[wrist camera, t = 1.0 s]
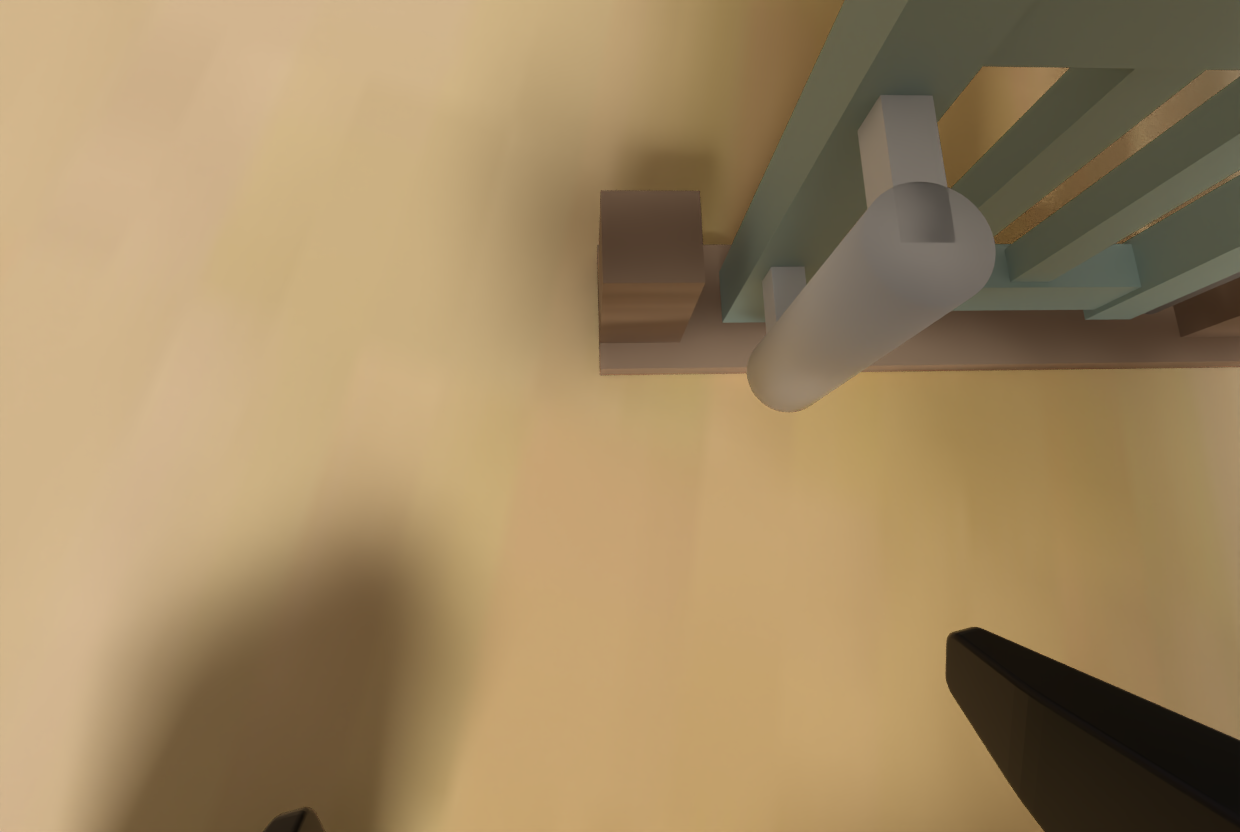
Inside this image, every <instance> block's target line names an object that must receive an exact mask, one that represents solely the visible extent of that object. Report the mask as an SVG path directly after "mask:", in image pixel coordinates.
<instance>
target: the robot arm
mask: <svg viewBox="0 0 1240 832" xmlns="http://www.w3.org/2000/svg"><path fill="white" fill-rule="evenodd" d="M946 681H947V684H948V687H949V689H950V692H951V693H952V695H953V697H954V698H955V700H956V701H957V703H958V705H959V706H960V708H961V709H962V711H963V712H964V714H965V715H966V717H967V719H968V720H969V722H970V723H971V725H972V726H973V728H974V729H975V731H976V733H977V734H978V736H979V737H980V739H981V740H982V742H983V744H984V745H985V747H986V748H987V750H988V751H989V753H990V754H991V756H992V758H993V759H994V761H995V762H996V764H997V765H998V767H999V768H1000V770H1001V772H1002V773H1003V775H1004V776H1005V778H1006V779H1007V781H1008V782H1009V784H1010V785H1011V787H1012V788H1013V790H1014V791H1015V793H1016V794H1017V796H1018V797H1019V798H1020V800H1021V801H1022V803H1023V804H1024V805H1025V807H1026V808H1027V809H1028V811H1029V812H1030V813H1031V815H1032V816H1033V817H1034V819H1035V820H1036V821H1037V822H1038V824H1039V825H1040V826H1041V828H1042V829H1043V830H1044V831H1045V832H1240V740H1238V739H1236V738H1233V737H1231V736H1229V735H1226V734H1224V733H1222V732H1220V731H1217V730H1215V729H1213V728H1210V727H1208V726H1206V725H1203V724H1201V723H1199V722H1196V721H1194V720H1192V719H1190V718H1187V717H1185V716H1183V715H1180V714H1178V713H1176V712H1173V711H1171V710H1169V709H1166V708H1164V707H1162V706H1160V705H1157V704H1155V703H1153V702H1150V701H1148V700H1146V699H1143V698H1141V697H1139V696H1136V695H1134V694H1132V693H1130V692H1127V691H1125V690H1123V689H1120V688H1118V687H1116V686H1113V685H1111V684H1109V683H1106V682H1104V681H1102V680H1100V679H1097V678H1095V677H1093V676H1090V675H1088V674H1086V673H1083V672H1081V671H1079V670H1076V669H1074V668H1072V667H1070V666H1067V665H1065V664H1063V663H1060V662H1058V661H1056V660H1053V659H1051V658H1049V657H1046V656H1044V655H1042V654H1040V653H1037V652H1035V651H1033V650H1030V649H1028V648H1026V647H1023V646H1021V645H1019V644H1017V643H1014V642H1012V641H1010V640H1007V639H1005V638H1003V637H1000V636H998V635H996V634H993V633H991V632H989V631H987V630H984V629H981V628H978V627H970V628H966V629H963V630H959V631H955V632H952V633H950V634H949V636H948V637H947V642H946ZM263 832H325V830H324V828H323V826H322V824H321V822H320V820H319V818H318V816H317V814H316V812H315V811H314V810H313V809H312V808H310V807H304V808H300V809H297V810H293V811H289V812H285V813H282V814H280V815H278V816H277V817H275V818H274V819H273V820H272V821H271V822H270V823H269V825H268V826H267V827H266V828H265V830H264V831H263Z"/></svg>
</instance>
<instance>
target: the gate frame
mask: <svg viewBox="0 0 1240 832" xmlns="http://www.w3.org/2000/svg"><path fill="white" fill-rule="evenodd" d="M730 247H731V245H703V236H702V220H701V204H700V191H601V198H600V228H599V245H598V248H597V264H598V310H599V357H600V375H649V374H728V373H747V364H748V360H749V358H750V355H751V354H752V352H753V350H754V349H755V348H756V347H757V345H758V344H759V343H760V342H761V341H762V339H763V338H764V337H765V336H766V322H743V323H722V309H721V294H720V279H719V271H720V269H721V267H722V265H723V263H724V260H725V258H726V256H727V254H728V252H729V250H730ZM1202 367H1240V277H1239V278H1237V279H1234V280H1232V281H1230V282H1227V283H1225V284H1223V285H1220V286H1218V287H1215V288H1213V289H1211V290H1208V291H1206V292H1204V293H1201V294H1199V295H1197V296H1194V297H1192V298H1190V299H1187V300H1185V301H1183V302H1180V303H1178V304H1176V305H1173V306H1171V307H1169V308H1166V309H1164V310H1162V311H1159V312H1157V313H1154V314H1141V315H1139V316H1137V317H1134V318H1132V319H1114V320H1085V317H1084V313H1083V310H980V311H950V312H949V313H948V314H946V315H945V316H943V317H942V318H940V319H939V320H937V321H936V322H934V323H933V324H931V325H930V326H928V327H927V328H925V329H924V330H922V331H921V332H919V333H918V334H916V335H915V336H913V337H912V338H910V339H909V340H907V341H906V342H904V343H903V344H901V345H900V346H898V347H897V348H895V349H894V350H892V351H891V352H889V353H888V354H887V355H885V356H884V357H882V358H881V359H879V360H878V361H876V362H875V363H873V364H872V365H870V366H869V367H867V368H866V369H864V370H863V371H861V372H886V371H965V370H1044V369H1123V368H1202Z"/></svg>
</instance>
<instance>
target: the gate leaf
mask: <svg viewBox="0 0 1240 832" xmlns="http://www.w3.org/2000/svg"><path fill="white" fill-rule="evenodd" d="M982 66H998V67H1063V68H1069V69H1068V70H1067V71H1066V72H1065V73H1064V74H1063V75H1062V76H1061V77H1060V78H1059V79H1058V81H1057V82H1056V83H1055V84H1054V85H1053V86H1052V87H1051V88H1050V89H1049V90H1048V91H1047V92H1046V93H1045V94H1044V95H1043V96H1042V97H1041V98H1040V99H1039V100H1038V101H1037V102H1036V103H1035V104H1034V105H1033V106H1032V107H1031V108H1030V109H1029V110H1028V111H1027V112H1026V113H1025V114H1024V115H1023V116H1022V117H1021V118H1020V119H1019V120H1018V121H1017V122H1016V123H1015V124H1014V125H1013V126H1012V127H1011V128H1010V129H1009V130H1008V131H1007V132H1006V133H1005V134H1004V135H1003V136H1002V137H1001V138H1000V139H999V140H998V141H997V142H996V143H995V144H994V145H993V146H992V147H991V148H990V149H989V150H988V151H987V152H986V153H985V154H984V155H983V156H982V157H981V158H980V159H979V160H978V161H977V162H976V163H975V164H974V165H973V166H972V167H971V168H970V170H969V171H968V172H967V173H966V174H965V175H964V176H963V177H962V178H961V179H960V180H959V181H958V182H957V183H956V184H955V185H954V186H953V187H952V188H951V189H950V188H948V187H947V181H946V175H945V169H944V163H943V156H942V150H941V144H940V138H939V132H938V125H937V122H938V121H939V120H940V118H941V117H942V116H943V115H944V113H945V112H946V111H947V110H948V109H949V107H950V106H951V105H952V104H953V102H954V101H955V100H956V99H957V97H958V96H959V95H960V94H961V92H962V91H963V90H964V89H965V87H966V86H967V85H968V84H969V82H970V81H971V80H972V79H973V78H974V76H975V75H976V74H977V73H978V71H979V70H980V69H981V68H982ZM1205 70H1240V0H845V1H844V3H843V5H842V7H841V9H840V11H839V14H838V16H837V18H836V20H835V22H834V24H833V27H832V29H831V31H830V33H829V35H828V37H827V40H826V42H825V44H824V46H823V48H822V50H821V53H820V55H819V57H818V59H817V61H816V63H815V66H814V68H813V70H812V72H811V74H810V76H809V79H808V81H807V83H806V85H805V87H804V89H803V92H802V94H801V96H800V98H799V100H798V102H797V105H796V107H795V109H794V111H793V113H792V115H791V118H790V120H789V122H788V124H787V126H786V128H785V131H784V133H783V135H782V137H781V139H780V141H779V144H778V146H777V148H776V150H775V152H774V154H773V156H772V159H771V161H770V163H769V165H768V167H767V169H766V172H765V174H764V176H763V178H762V180H761V182H760V185H759V187H758V189H757V191H756V193H755V195H754V198H753V200H752V202H751V204H750V206H749V208H748V211H747V213H746V215H745V217H744V219H743V221H742V224H741V226H740V228H739V230H738V232H737V234H736V237H735V239H734V241H733V243H732V245H731V247H730V250H729V252H728V254H727V256H726V258H725V260H724V263H723V265H722V267H721V269H720V271H719V279H720V294H721V309H722V323H743V322H766V336H765V337H764V338H763V339H762V341H761V342H760V343H759V344H758V345H757V347H756V348H755V349H754V350H753V352H752V354H751V355H750V358H749V360H748V364H747V378H748V382H749V385H750V387H751V389H752V391H753V393H754V394H755V396H756V397H757V398H758V399H759V400H760V401H761V402H762V403H764V404H765V405H766V406H768V407H770V408H772V409H774V410H778V411H782V412H796V411H800V410H803V409H805V408H807V407H809V406H811V405H812V404H814V403H815V402H817V401H818V400H820V399H821V398H823V397H824V396H826V395H827V394H829V393H830V392H831V391H833V390H834V389H836V388H837V387H839V386H840V385H842V384H843V383H845V382H846V381H848V380H849V379H851V378H852V377H854V376H855V375H857V374H858V373H860V372H861V371H863V370H864V369H866V368H867V367H869V366H870V365H872V364H873V363H875V362H876V361H878V360H879V359H881V358H882V357H884V356H885V355H887V354H888V353H889V352H891V351H892V350H894V349H895V348H897V347H898V346H900V345H901V344H903V343H904V342H906V341H907V340H909V339H910V338H912V337H913V336H915V335H916V334H918V333H919V332H921V331H922V330H924V329H925V328H927V327H928V326H930V325H931V324H933V323H934V322H936V321H937V320H939V319H940V318H942V317H943V316H945V315H946V314H948V313H949V312H950V311H980V310H1083V313H1084V317H1085V320H1114V319H1132V318H1134V317H1137V316H1139V315H1141V314H1154V313H1157V312H1159V311H1162V310H1164V309H1166V308H1169V307H1171V306H1173V305H1176V304H1178V303H1180V302H1183V301H1185V300H1187V299H1190V298H1192V297H1194V296H1197V295H1199V294H1201V293H1204V292H1206V291H1208V290H1211V289H1213V288H1215V287H1218V286H1220V285H1223V284H1225V283H1227V282H1230V281H1232V280H1234V279H1237V278H1239V277H1240V175H1239V176H1237V177H1235V178H1234V179H1232V180H1230V181H1228V182H1227V183H1225V184H1223V185H1222V186H1220V187H1218V188H1216V189H1215V190H1213V191H1211V192H1210V193H1208V194H1206V195H1204V196H1203V197H1201V198H1199V199H1198V200H1196V201H1194V202H1192V203H1191V204H1189V205H1187V206H1186V207H1184V208H1182V209H1180V210H1179V211H1177V212H1175V213H1174V214H1172V215H1170V216H1168V217H1167V218H1165V219H1163V220H1162V221H1160V222H1158V223H1156V224H1155V225H1153V226H1151V227H1150V228H1148V229H1146V230H1144V231H1143V232H1141V233H1139V234H1138V235H1136V236H1134V237H1132V238H1131V239H1129V240H1127V241H1126V242H1124V243H1122V244H1115V243H1117V242H1118V241H1120V240H1122V239H1124V238H1125V237H1127V236H1129V235H1130V234H1132V233H1134V232H1135V231H1137V230H1139V229H1140V228H1142V227H1144V226H1146V225H1147V224H1149V223H1151V222H1152V221H1154V220H1156V219H1157V218H1159V217H1161V216H1162V215H1164V214H1166V213H1168V212H1169V211H1171V210H1173V209H1174V208H1176V207H1178V206H1179V205H1181V204H1183V203H1184V202H1186V201H1188V200H1190V199H1191V198H1193V197H1195V196H1196V195H1198V194H1200V193H1201V192H1203V191H1205V190H1206V189H1208V188H1210V187H1211V186H1213V185H1215V184H1217V183H1218V182H1220V181H1222V180H1223V179H1225V178H1227V177H1228V176H1230V175H1232V174H1233V173H1235V172H1237V171H1239V170H1240V77H1239V78H1237V79H1236V80H1235V81H1233V82H1232V83H1230V84H1229V85H1228V86H1226V87H1225V88H1224V89H1222V90H1221V91H1220V92H1218V93H1217V94H1215V95H1214V96H1213V97H1211V98H1210V99H1209V100H1207V101H1206V102H1205V103H1203V104H1202V105H1201V106H1199V107H1198V108H1196V109H1195V110H1194V111H1192V112H1191V113H1190V114H1188V115H1187V116H1186V117H1184V118H1183V119H1181V120H1180V121H1179V122H1177V123H1176V124H1175V125H1173V126H1172V127H1171V128H1169V129H1168V130H1166V131H1165V132H1164V133H1162V134H1161V135H1160V136H1158V137H1157V138H1156V139H1154V140H1153V141H1151V142H1150V143H1149V144H1147V145H1146V146H1145V147H1143V148H1142V149H1141V150H1139V151H1138V152H1136V153H1135V154H1134V155H1132V156H1131V157H1130V158H1128V159H1127V160H1126V161H1124V162H1123V163H1122V164H1120V165H1119V166H1117V167H1116V168H1115V169H1113V170H1112V171H1111V172H1109V173H1108V174H1107V175H1105V176H1104V177H1102V178H1101V179H1100V180H1098V181H1097V182H1096V183H1094V184H1093V185H1092V186H1090V187H1089V188H1087V189H1086V190H1085V191H1083V192H1082V193H1081V194H1079V195H1078V196H1077V197H1075V198H1074V199H1072V200H1071V201H1070V202H1068V203H1067V204H1066V205H1064V206H1063V207H1062V208H1060V209H1059V210H1057V211H1056V212H1055V213H1053V214H1052V215H1051V216H1049V217H1048V218H1047V219H1045V220H1044V221H1043V222H1041V223H1040V224H1038V225H1037V226H1036V227H1034V228H1033V229H1032V230H1030V231H1029V232H1028V233H1026V234H1025V235H1023V236H1022V237H1021V238H1019V239H1018V240H1017V241H1015V242H1014V243H1013V244H995V241H994V236H995V235H996V234H998V233H999V232H1000V231H1002V230H1003V229H1004V228H1005V227H1007V226H1008V225H1009V224H1010V223H1012V222H1013V221H1014V220H1016V219H1017V218H1018V217H1019V216H1021V215H1022V214H1023V213H1024V212H1026V211H1027V210H1028V209H1030V208H1031V207H1032V206H1033V205H1035V204H1036V203H1037V202H1038V201H1040V200H1041V199H1042V198H1044V197H1045V196H1046V195H1047V194H1049V193H1050V192H1051V191H1053V190H1054V189H1055V188H1056V187H1058V186H1059V185H1060V184H1061V183H1063V182H1064V181H1065V180H1067V179H1068V178H1069V177H1070V176H1072V175H1073V174H1074V173H1075V172H1077V171H1078V170H1079V169H1081V168H1082V167H1083V166H1084V165H1086V164H1087V163H1088V162H1089V161H1091V160H1092V159H1093V158H1095V157H1096V156H1097V155H1098V154H1100V153H1101V152H1102V151H1103V150H1105V149H1106V148H1107V147H1109V146H1110V145H1111V144H1112V143H1114V142H1115V141H1116V140H1117V139H1119V138H1120V137H1121V136H1123V135H1124V134H1125V133H1126V132H1128V131H1129V130H1130V129H1131V128H1133V127H1134V126H1135V125H1137V124H1138V123H1139V122H1140V121H1142V120H1143V119H1144V118H1145V117H1147V116H1148V115H1149V114H1151V113H1152V112H1153V111H1154V110H1156V109H1157V108H1158V107H1159V106H1161V105H1162V104H1163V103H1165V102H1166V101H1167V100H1168V99H1170V98H1171V97H1172V96H1173V95H1175V94H1176V93H1177V92H1179V91H1180V90H1181V89H1182V88H1184V87H1185V86H1186V85H1188V84H1189V83H1190V82H1191V81H1193V80H1194V79H1195V78H1196V77H1198V76H1199V75H1200V74H1202V73H1203V72H1204V71H1205ZM865 211H866V212H865ZM861 216H862V217H861ZM857 221H858V222H857ZM853 226H854V227H853ZM849 231H850V232H849ZM848 232H849V233H848ZM844 237H845V238H844ZM840 242H841V243H840Z"/></svg>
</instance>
